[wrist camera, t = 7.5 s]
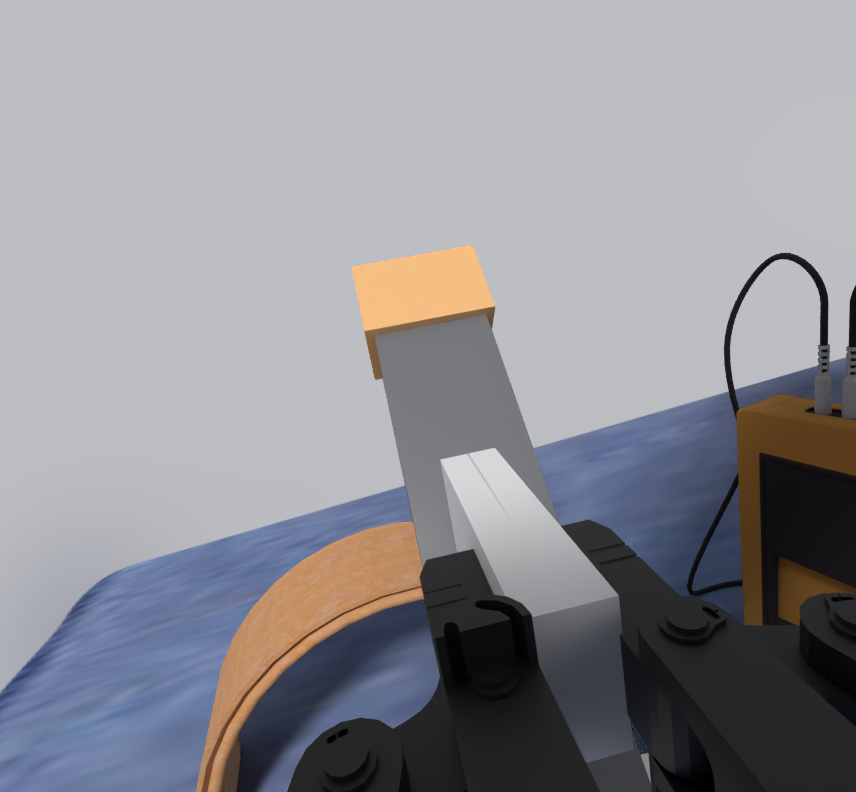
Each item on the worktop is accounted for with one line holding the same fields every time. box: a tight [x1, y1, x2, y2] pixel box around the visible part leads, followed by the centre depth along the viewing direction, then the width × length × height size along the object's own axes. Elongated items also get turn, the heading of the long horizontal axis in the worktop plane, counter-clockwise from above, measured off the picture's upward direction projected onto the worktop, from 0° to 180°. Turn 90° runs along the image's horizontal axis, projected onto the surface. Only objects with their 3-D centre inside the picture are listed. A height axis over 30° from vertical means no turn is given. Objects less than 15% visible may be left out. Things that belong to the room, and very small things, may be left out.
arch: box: [196, 521, 424, 792], centre depth 25 cm, size 6×20×10 cm, turn 104°
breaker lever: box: [352, 245, 652, 792], centre depth 16 cm, size 5×3×20 cm
